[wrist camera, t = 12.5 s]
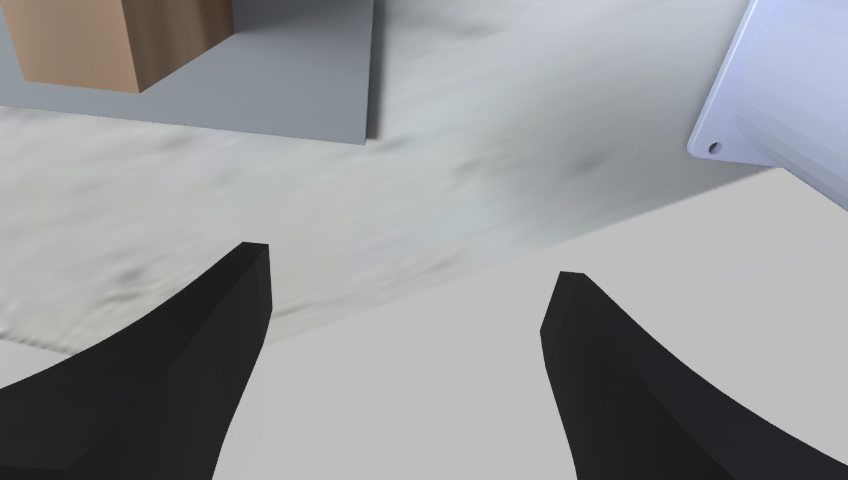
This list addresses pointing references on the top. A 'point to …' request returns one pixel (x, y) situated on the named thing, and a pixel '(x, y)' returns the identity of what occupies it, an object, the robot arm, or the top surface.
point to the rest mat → (242, 76)
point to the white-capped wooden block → (113, 39)
